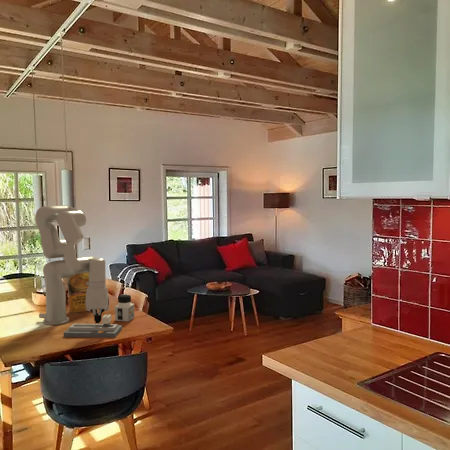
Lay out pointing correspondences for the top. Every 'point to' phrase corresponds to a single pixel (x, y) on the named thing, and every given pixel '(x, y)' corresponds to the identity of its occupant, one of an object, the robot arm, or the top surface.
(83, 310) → the pancake mix bag
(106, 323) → the fader
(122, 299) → the container
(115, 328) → the console
